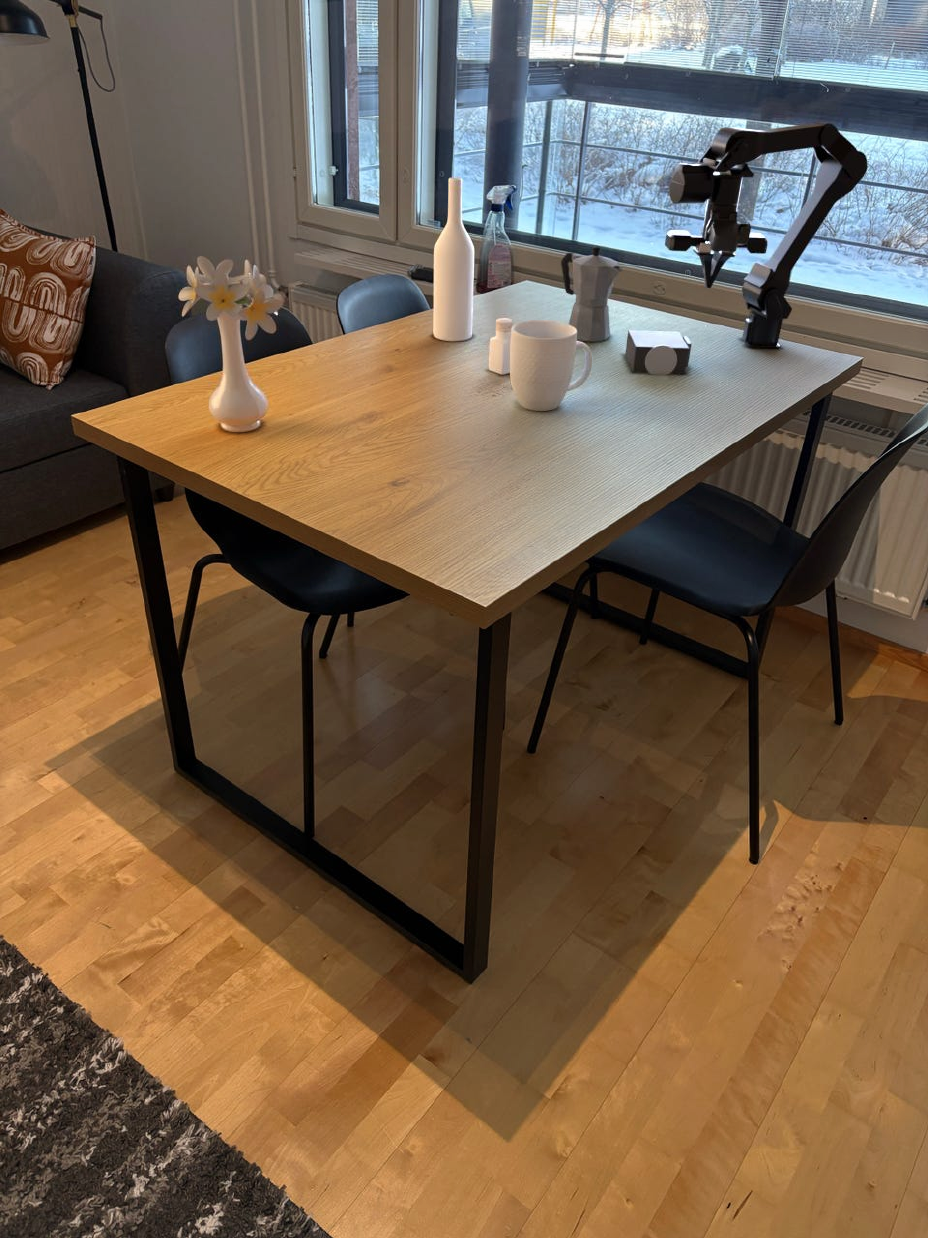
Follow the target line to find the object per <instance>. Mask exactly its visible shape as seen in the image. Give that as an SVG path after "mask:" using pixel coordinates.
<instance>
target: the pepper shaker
mask: <svg viewBox="0 0 928 1238" xmlns="http://www.w3.org/2000/svg"><path fill="white" fill-rule="evenodd" d="M513 325H514V319H511V318H507V317H505V318H504V317H502V318H497V319H496V320H495V335H494V336H493V337H491V338H490V339H489V353H488V370H489V371H491V372H493V373H497V374H498V375H501V376H502V375H507V374H510V342H511V329H512V327H513Z"/></svg>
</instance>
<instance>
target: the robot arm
mask: <svg viewBox="0 0 928 1238" xmlns="http://www.w3.org/2000/svg"><path fill="white" fill-rule="evenodd" d="M806 149H812V150H813V151H812V152H813V154H814V157H815V159H816V160H817V161H818V163H819V164H820V165H819V167H818V170H817V172H816V175H815V180H814V181H815V182H814V187H813V190H812V192H811V193H810V196H809V197H808V199H807V200H806V202H805V203H804V204H803V207H801V210H800V212H799V213H798V214H797V216H796V217H795V219H794V221H793V222H792V224H791V225H790V227H789V229H788V230H787V231H786V233H785V235H784V236H783V237H782V239H781V241H780V242H779V244H778V246H777V247H776V249H775V251H774V252H773V254H772V255H771V257H770V258H769V259H767V260H766V261H765V262H763V263H760V262H757V261H756V262H754V264H753V265H752V267H751V269H750V271H749V273H748V274H747V275H746V276H745V277H744V278H743V282H744V283H743V286H742V288H741V292H742V297H743V300H744V301H745V307H746V310H747V311H748V310H749V314H748V318H746V319H745V321H744V326H743V332H742V337H741V339H742V340H743V342H744V343H745V344H746V345H747V347H748V348H760V349H761V348H763V349H780V348H781V345H780V344H779V339H780V335H781V332H782V331H781V330H782V326H783V321H784V320H788V319H789V316H790V314H791V313H792V311H793V308H792V306H791V305H790V304H789V301H788V300H787V299H786V297H785V296H786V293H787V291H788V289H789V287H790V281H791V274H792V271H793V269H794V267H796V266H795V265H796V264H797V262H798V261H799V259H800V258H801V257H802V255H803V254H804V252H805V250H806V248H808V246H809V245H810V243H811V241H812V240H813V238H814V236H815V235H816V234H817V232H818V231H819V229H820V228H821V226H822V224H823V223H824V221H825V220H826V218H827V217H828V215H829V214H830V212H831V211H832V209H833V207H834V206H835V205H836V203H838V201H840V200H841V199H843V198H844V197H845V196H846V195H848V194H849V193H851V192H852V191H853V190H854V189H855V188H856V187H857V186H858V184H859V183H860V182H861V180H863V179H864V177H865V175H866V173H867V172H868V168H869V166H868V159H867V155H866V154H865V153H864V152H863V151H861V150H858V149H857V147H855V145H854V144H853V143H851V142H850V141H849V140H848V139H847V138H846V137H845V136H844V135H843V134H842V133H841V132H840V131H839V129H838V128H837V126H836V125H835V124H833V123H831V122H825V121H815V122H813V123H806V124H797V125H791V126H783V127H776V128H768V129H751V128H744V127H732V126H725V127H722V128H720V129H718V130H717V132H716V134H715V135H714V137H713V138H712V141H711V144H710V145H709V146H708V148H707V149H706V150H705V152H704V153H703V154H702V155H701V157H700V158H699V159H698V161H697V162H696V163H685V162H679V163H678V164H677V170H676V171H675V172H674V173H673V175H672V176H671V177H672V178H671V180H670V181H669V185H668V186H669V187H668V193H669V199H670V201H671V202H672V204H673V205H675V204H676V205H685V204H686V205H689V204H691V205H692V204H704V203H705V202H706V201H707V202H706V205H705V209H704V212H705V213H704V219H703V225H702V226H703V227H702V228H701V234H700V235H692V234H691V233H690V232H689V231H688V230H673V229H672V230H669V231H668V232H667V233H666V235H665V241H664V246H665V247H666V249H668V251H672V252H687V251H688V250H689V249H691V247H693V248H692V251H693V252H694V253H695V254H696V255H697V256H698V257H699V261H700V264H701V268H702V273H703V280H704V285H705V288H706V289H711V288H712V287H713V285H714V283H715V281H716V279H717V277H718V276H719V274H720V271H721V269H722V268H723V266H724V265H725V264H726V262H727V261H728V260H730V259H731V258H735V257H736V255H737V254H736V251H737V249H738V248H739V249H746V250H747V251H748V253H749V254H759V255H760V254H761V255H764V254H765V255H766V253H767V250H768V239H767V237H765V236H764V235H763V234H761V233H760V232H751V230H752V226H751V223H742V222H741V223H739V224H738V207H739V200H740V195H741V190H742V183H743V179H745V178H754V176H755V173H754V172H753V171H752V170H751V168H750V167H749V163H750V162H753V161H755V160H757V159H759V158H760V157H762V156H765V155H768V154H775V153H782V152H791V151H797V150H806Z"/></svg>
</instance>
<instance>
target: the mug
mask: <svg viewBox="0 0 928 1238" xmlns="http://www.w3.org/2000/svg"><path fill="white" fill-rule="evenodd" d="M577 349H582V350H583V352H584V354H585V364H584V368H583V371H582V373H581V375H580V376H579V377H578V378H577V379H576V380H574V381H573V382H572V381H571V380H572V377H573V371H574V368H575V361H576V354H577ZM592 367H593V355H592V351H591V349H590V347H589V346H588V345H587V344H586V343H584V341H580V340H577V329H576V328H575V327H573V326H571V325H569V323H566V322H562V321H556V320H555V321H554V320H546V319H545V320H542V319H541V320H540V319H539V320H537V319H536V320H535V319H534V320H526V321H520V322H517V323H514V324H513V327H512V329H511V342H510V373H509V376H510V378H509V379H510V383H511V387H512V391H513V394H514V396H515V398H516V400H517V403H519V405H520V406H521V407H522V408H524V409H526V410H529V411H533V412H547V411H552V410H555V409H557V408H558V407H559V406H560V404H561V403H562V401H563V400H564V398H565V397H566V394H567V392H570V391H573V390H575V389H578V388H579V387H581V386H582V385H584V383H585V382H586V381H587V379H588V378H589V376H590V374H591V371H592Z"/></svg>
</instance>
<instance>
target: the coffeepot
mask: <svg viewBox="0 0 928 1238" xmlns="http://www.w3.org/2000/svg"><path fill="white" fill-rule="evenodd" d="M601 248H602V247H601V246H599V245H594V246H592V254H590V255H586V256H585V255H584V256H583V255H582V254H578V253H574V252H566V254H564V256H563V257H562V259H561V260H560V266H561V267H560V268H561V271H562V278H563V284H564V289H565V293H566V294H568V295H570V296H573V295H575V301H574V303H573V305H572V309H571V313H570V317H569V322H568V324H569V325H571V326H573V327H575V328H576V329H577V341H580V342H588V343H589V342H591V343H593V342H594V343H595V342H602V341H606V340H607V339H609V337H610V335H611V329H610V311H609V309H610V308H609V305H608V303H609V297H610V296H611V294H612V290H613V287H614V282H615V279H616V277H617V276H618V275H619V273H621V272H622V271H623V268H622V267H621V266H620V265H619V261H616V260H614V259H612V258H610V257H606V256H603V255H600V253H601V250H602V249H601ZM570 263H571V264H572V279H571V276H570V266H569V265H570ZM571 280H573V289H572V288H571V282H572V281H571Z"/></svg>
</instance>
